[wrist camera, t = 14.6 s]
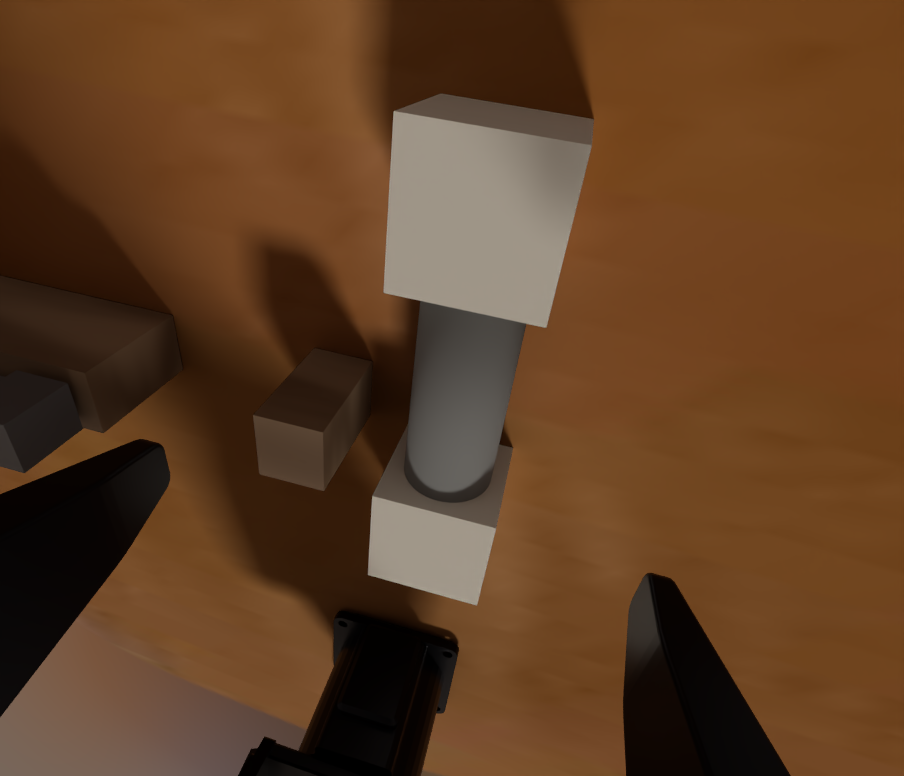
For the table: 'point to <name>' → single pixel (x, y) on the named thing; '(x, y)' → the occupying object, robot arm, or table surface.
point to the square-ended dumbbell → (467, 318)
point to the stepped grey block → (34, 419)
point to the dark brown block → (158, 360)
